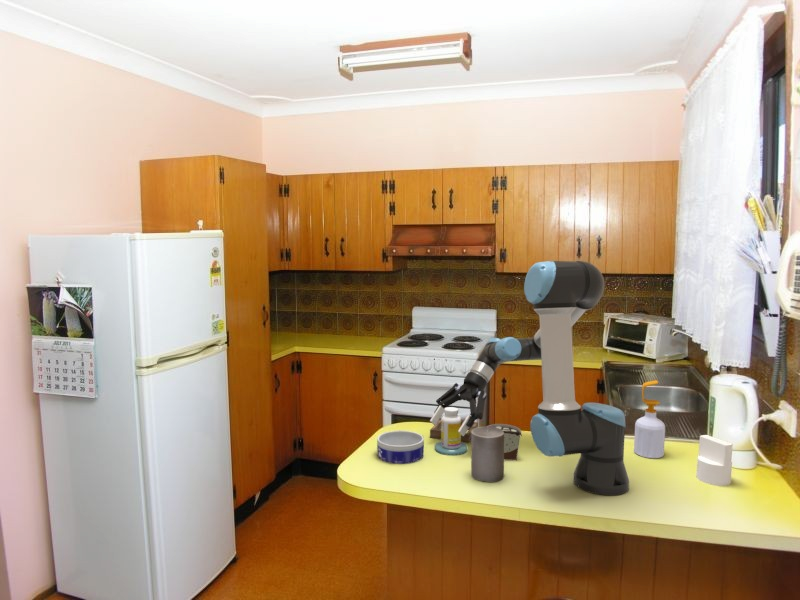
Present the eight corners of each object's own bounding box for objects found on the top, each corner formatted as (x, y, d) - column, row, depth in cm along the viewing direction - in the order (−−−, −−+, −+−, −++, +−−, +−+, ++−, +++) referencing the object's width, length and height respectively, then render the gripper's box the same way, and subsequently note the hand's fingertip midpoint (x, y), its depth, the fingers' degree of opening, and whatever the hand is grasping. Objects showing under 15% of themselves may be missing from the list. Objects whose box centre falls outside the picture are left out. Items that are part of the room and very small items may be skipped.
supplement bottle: (464, 446, 194) (465, 409, 193) (452, 451, 189) (453, 413, 188) (449, 441, 199) (449, 405, 197) (436, 446, 194) (437, 409, 193)
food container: (519, 453, 190) (520, 424, 189) (521, 460, 184) (522, 430, 183) (481, 452, 192) (482, 422, 191) (482, 459, 186) (483, 428, 185)
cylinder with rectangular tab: (689, 475, 173) (691, 437, 172) (710, 471, 177) (712, 433, 175) (716, 487, 165) (718, 447, 163) (737, 482, 168) (740, 442, 167)
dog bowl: (367, 454, 189) (367, 437, 189) (402, 443, 200) (402, 427, 199) (398, 468, 178) (398, 449, 177) (433, 456, 188) (433, 438, 188)
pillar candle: (495, 467, 179) (495, 420, 177) (509, 480, 169) (509, 430, 168) (465, 471, 176) (466, 423, 174) (478, 484, 167) (478, 434, 165)
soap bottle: (664, 460, 185) (669, 385, 182) (634, 456, 188) (637, 383, 185) (662, 450, 193) (666, 379, 191) (633, 447, 196) (636, 376, 194)
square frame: (468, 442, 200) (468, 434, 200) (430, 437, 205) (430, 429, 205) (477, 430, 213) (477, 422, 213) (441, 425, 218) (441, 418, 218)
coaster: (462, 457, 187) (462, 454, 187) (430, 452, 191) (430, 449, 191) (470, 445, 197) (470, 443, 197) (440, 441, 201) (440, 439, 201)
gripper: (511, 391, 192) (479, 444, 184) (458, 377, 211) (427, 425, 203) (500, 377, 188) (467, 432, 180) (447, 364, 207) (415, 413, 199)
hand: (446, 428), depth 192 cm, fingers open, 13 cm apart
